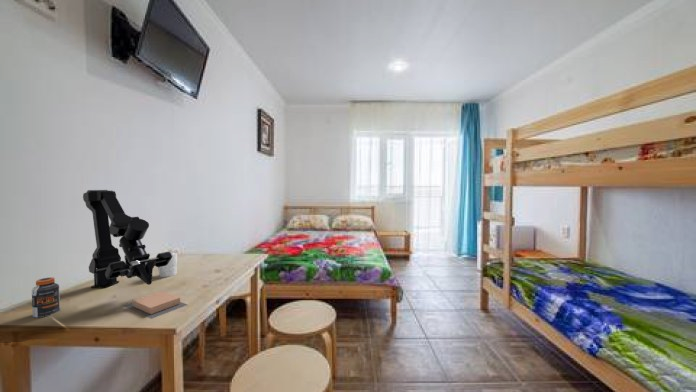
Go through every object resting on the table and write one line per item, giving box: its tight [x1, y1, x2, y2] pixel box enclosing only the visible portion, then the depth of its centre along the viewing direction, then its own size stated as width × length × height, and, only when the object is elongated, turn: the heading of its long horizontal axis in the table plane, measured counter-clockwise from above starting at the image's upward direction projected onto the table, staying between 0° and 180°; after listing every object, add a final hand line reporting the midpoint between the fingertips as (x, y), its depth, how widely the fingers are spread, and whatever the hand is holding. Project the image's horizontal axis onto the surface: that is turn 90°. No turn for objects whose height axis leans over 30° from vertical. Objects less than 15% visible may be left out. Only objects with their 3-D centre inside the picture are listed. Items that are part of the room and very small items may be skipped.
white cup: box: [156, 250, 178, 278], centre depth 125 cm, size 8×8×10 cm
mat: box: [123, 301, 188, 319], centre depth 93 cm, size 19×11×1 cm, turn 60°
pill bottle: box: [31, 277, 61, 318], centre depth 88 cm, size 6×6×11 cm
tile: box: [131, 290, 181, 314], centre depth 93 cm, size 2×9×12 cm
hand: (150, 283), depth 95 cm, fingers closed
